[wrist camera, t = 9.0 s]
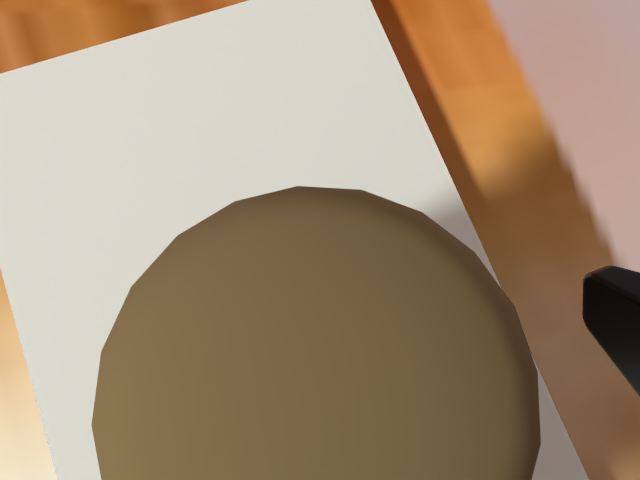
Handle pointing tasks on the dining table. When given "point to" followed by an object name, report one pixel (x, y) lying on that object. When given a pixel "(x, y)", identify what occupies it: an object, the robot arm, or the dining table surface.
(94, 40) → the dining table surface
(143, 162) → the white board
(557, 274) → the dining table surface
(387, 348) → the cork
